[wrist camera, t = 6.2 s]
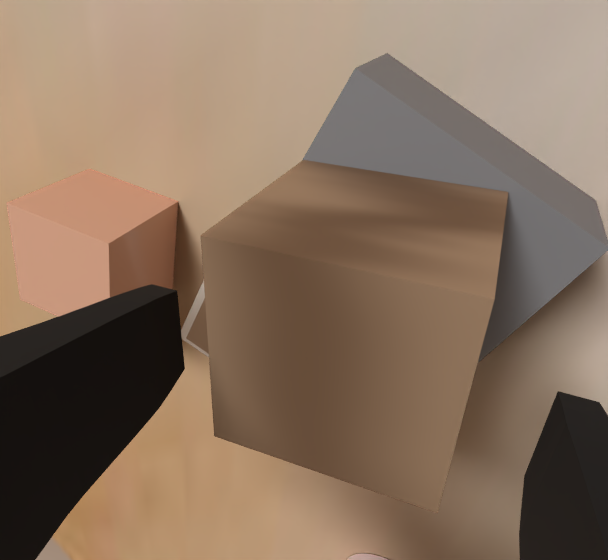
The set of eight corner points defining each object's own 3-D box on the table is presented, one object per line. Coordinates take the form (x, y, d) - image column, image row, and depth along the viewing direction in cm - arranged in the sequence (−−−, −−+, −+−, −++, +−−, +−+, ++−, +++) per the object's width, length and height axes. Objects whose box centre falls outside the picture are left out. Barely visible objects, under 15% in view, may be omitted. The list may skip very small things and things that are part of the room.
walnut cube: (508, 191, 12) (494, 299, 8) (465, 363, 14) (437, 513, 10) (303, 159, 13) (200, 235, 9) (297, 320, 16) (214, 436, 12)
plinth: (594, 196, 14) (609, 248, 12) (439, 345, 18) (422, 410, 16) (389, 52, 15) (355, 68, 12) (281, 231, 19) (236, 275, 16)
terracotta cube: (179, 200, 19) (108, 243, 16) (174, 286, 22) (110, 339, 18) (90, 168, 20) (6, 202, 17) (94, 254, 22) (20, 299, 19)
